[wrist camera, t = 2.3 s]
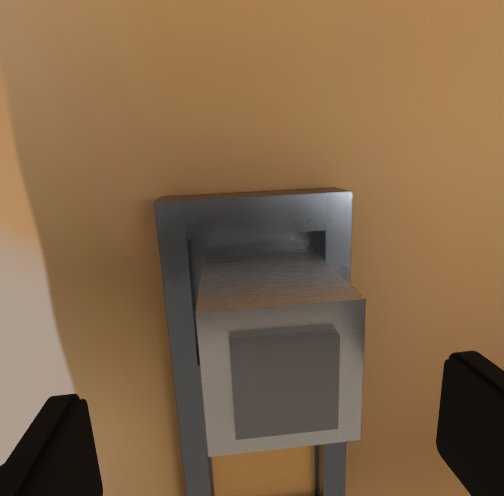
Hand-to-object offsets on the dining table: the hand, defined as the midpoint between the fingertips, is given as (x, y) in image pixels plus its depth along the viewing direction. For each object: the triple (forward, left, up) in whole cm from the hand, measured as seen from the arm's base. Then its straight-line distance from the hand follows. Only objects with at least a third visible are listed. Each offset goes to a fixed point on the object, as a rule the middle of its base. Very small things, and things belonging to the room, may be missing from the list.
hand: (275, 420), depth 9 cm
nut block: (-1, 0, -10) cm, 10 cm away
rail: (-1, +6, -11) cm, 12 cm away
